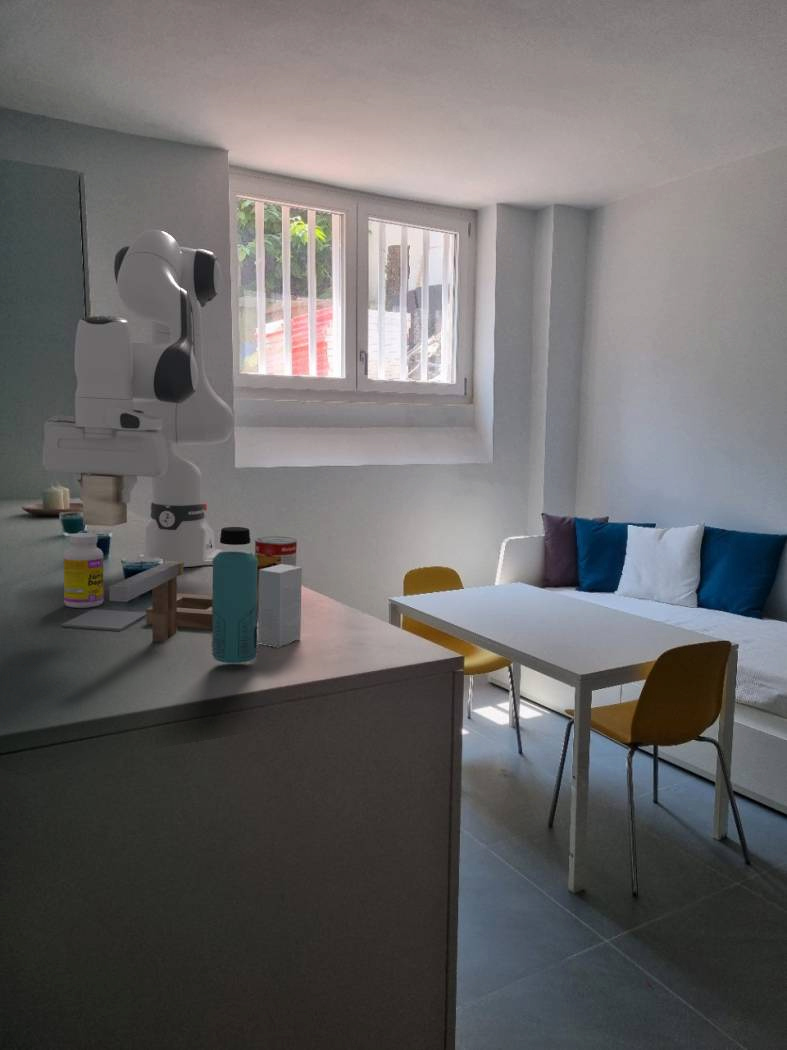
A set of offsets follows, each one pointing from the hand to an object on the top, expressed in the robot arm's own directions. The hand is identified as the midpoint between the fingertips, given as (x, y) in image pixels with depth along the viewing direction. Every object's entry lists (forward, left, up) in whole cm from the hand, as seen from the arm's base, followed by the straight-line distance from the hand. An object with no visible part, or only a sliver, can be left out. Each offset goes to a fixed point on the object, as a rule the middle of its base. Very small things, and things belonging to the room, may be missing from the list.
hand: (105, 501), depth 122 cm
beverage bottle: (+17, +28, -20) cm, 39 cm away
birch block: (0, 0, -4) cm, 4 cm away
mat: (0, 0, -20) cm, 20 cm away
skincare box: (+4, +31, -20) cm, 37 cm away
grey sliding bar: (+12, +13, -11) cm, 21 cm away
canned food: (-22, +23, -20) cm, 38 cm away
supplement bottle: (-9, -9, -20) cm, 24 cm away
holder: (-2, +13, -20) cm, 24 cm away
